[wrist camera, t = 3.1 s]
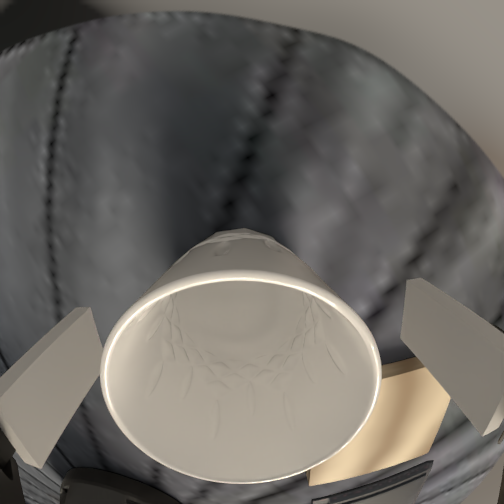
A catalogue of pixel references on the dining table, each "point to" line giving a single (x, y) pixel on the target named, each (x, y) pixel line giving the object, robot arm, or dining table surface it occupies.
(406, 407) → the oak coaster board
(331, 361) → the white cup
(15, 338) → the dining table surface
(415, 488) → the black book
